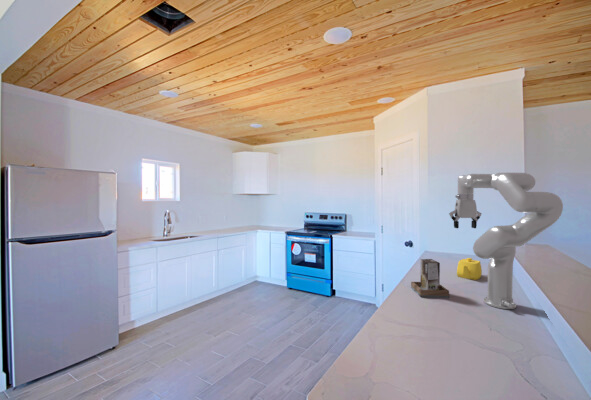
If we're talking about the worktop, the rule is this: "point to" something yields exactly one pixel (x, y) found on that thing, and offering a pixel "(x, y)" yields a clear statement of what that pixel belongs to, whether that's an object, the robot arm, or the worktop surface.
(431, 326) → the worktop surface
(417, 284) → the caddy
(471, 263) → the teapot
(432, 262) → the coffee box
